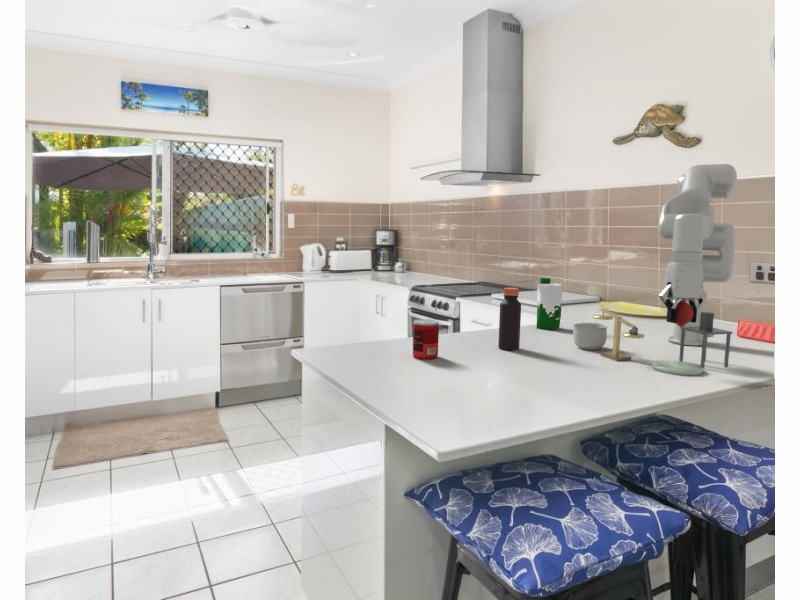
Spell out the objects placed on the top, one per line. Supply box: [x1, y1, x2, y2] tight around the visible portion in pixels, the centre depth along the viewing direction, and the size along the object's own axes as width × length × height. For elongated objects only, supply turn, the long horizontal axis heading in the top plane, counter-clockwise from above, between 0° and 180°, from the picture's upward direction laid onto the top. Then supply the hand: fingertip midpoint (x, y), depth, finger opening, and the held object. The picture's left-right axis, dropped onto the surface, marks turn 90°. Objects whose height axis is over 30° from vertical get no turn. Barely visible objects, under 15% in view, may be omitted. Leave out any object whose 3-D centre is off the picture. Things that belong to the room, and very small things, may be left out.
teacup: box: [572, 322, 608, 351], centre depth 191 cm, size 14×11×8 cm
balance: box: [592, 307, 645, 362], centre depth 175 cm, size 21×6×15 cm, turn 16°
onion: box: [675, 299, 694, 327], centre depth 160 cm, size 6×6×8 cm
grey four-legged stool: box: [678, 311, 733, 370], centre depth 168 cm, size 10×10×16 cm
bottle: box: [497, 287, 522, 352], centre depth 185 cm, size 7×7×20 cm
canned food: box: [412, 318, 440, 360], centre depth 172 cm, size 8×8×11 cm
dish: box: [652, 359, 704, 376], centre depth 162 cm, size 13×13×1 cm
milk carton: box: [536, 277, 563, 331], centre depth 226 cm, size 9×9×20 cm
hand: (681, 321), depth 160 cm, fingers closed on onion, 6 cm apart
